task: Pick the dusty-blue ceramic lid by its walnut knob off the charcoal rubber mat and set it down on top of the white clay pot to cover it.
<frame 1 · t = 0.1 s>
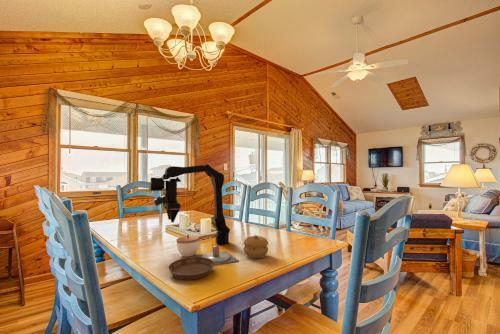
hand: (170, 220, 134), 15 cm above the table, fingers open, 9 cm apart
mat: (215, 258, 120), on the table
lid: (216, 252, 120), on the mat
pot: (255, 257, 123), on the table
plant saucer: (191, 272, 103), on the table, touching mat
lidded jar: (188, 255, 125), on the table, touching mat
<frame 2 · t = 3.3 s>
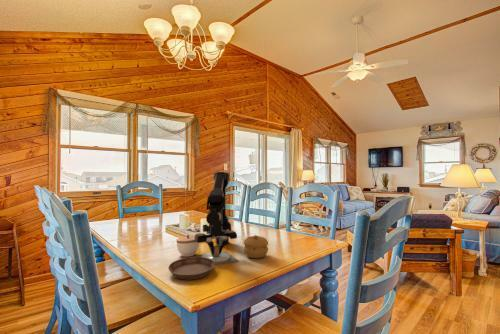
hand: (215, 255, 120), 2 cm above the table, fingers closed on lid, 3 cm apart
lid: (216, 252, 120), on the mat, touching gripper
everything else where it was.
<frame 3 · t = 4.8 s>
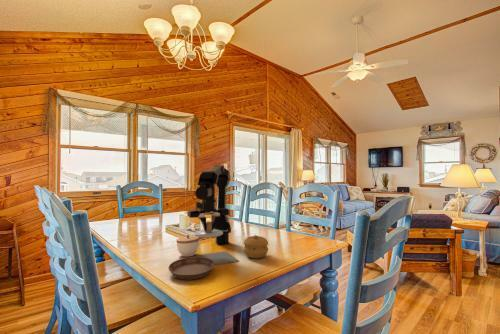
hand: (208, 231, 122), 12 cm above the table, fingers closed on lid, 3 cm apart
lid: (208, 228, 122), point 14 cm above the table, touching gripper
everything else where it was.
when the fingers open (11 cm above the table, at t = 6.4 s): lid stays where it is, resting on lidded jar.
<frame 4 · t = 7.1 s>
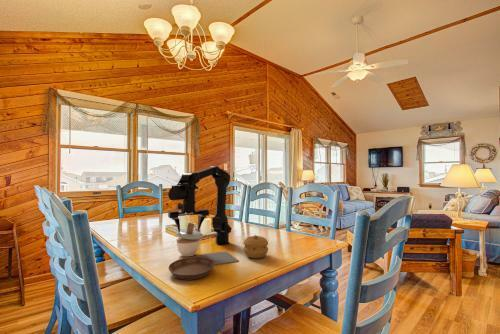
hand: (188, 231, 126), 11 cm above the table, fingers open, 9 cm apart
lid: (190, 229, 126), point 12 cm above the table, tilted 12°, touching lidded jar
lidded jar: (188, 255, 125), on the table, touching lid, mat
everything else where it was.
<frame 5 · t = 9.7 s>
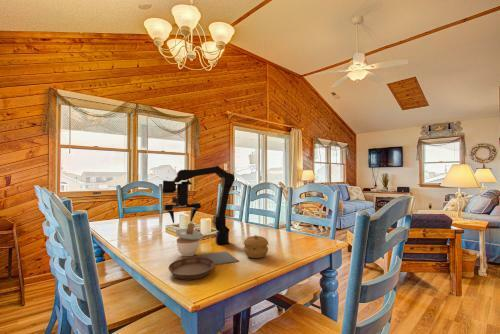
hand: (182, 222, 139), 13 cm above the table, fingers open, 9 cm apart
nothing on the table moved.
at the end: lid inside the target area on the lidded jar (0.2 cm from its centre), point 12.2 cm above the lidded jar's base; lid tilted 12°; the gripper is holding nothing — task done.
